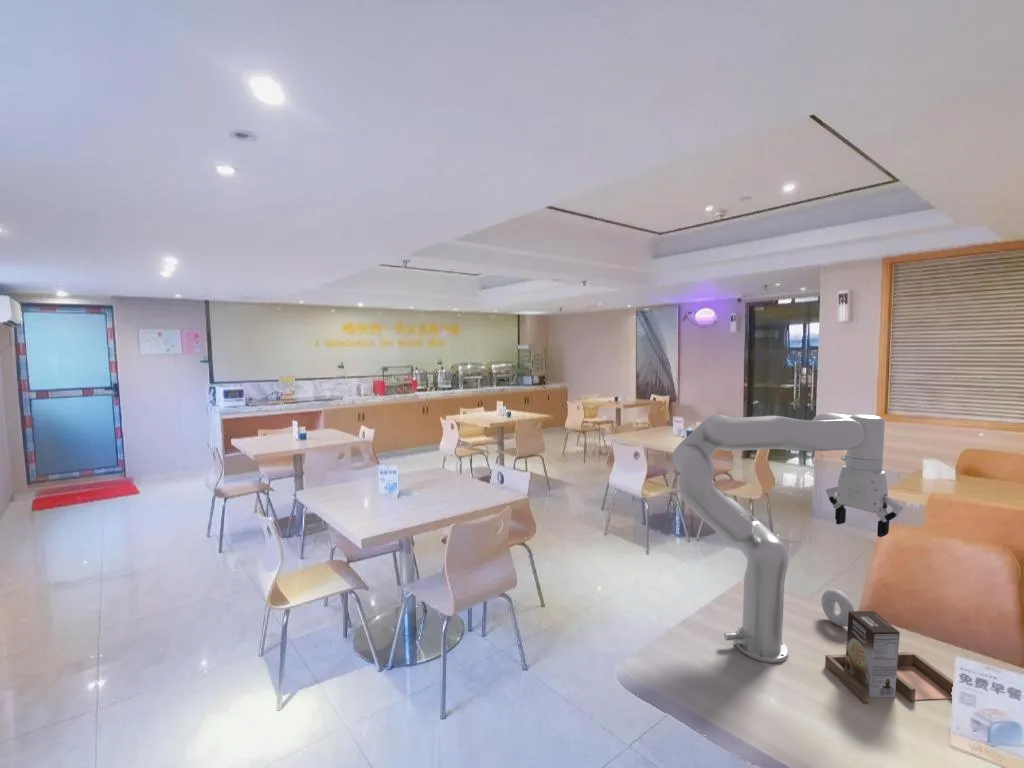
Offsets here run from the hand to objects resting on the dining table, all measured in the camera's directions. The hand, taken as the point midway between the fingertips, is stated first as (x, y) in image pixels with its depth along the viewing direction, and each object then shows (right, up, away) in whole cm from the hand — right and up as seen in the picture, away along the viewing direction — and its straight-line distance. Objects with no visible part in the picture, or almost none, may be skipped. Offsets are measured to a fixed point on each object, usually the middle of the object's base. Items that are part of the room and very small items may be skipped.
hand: (860, 529), depth 127 cm
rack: (+1, -34, -8) cm, 35 cm away
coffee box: (-4, -35, -9) cm, 36 cm away
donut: (+5, -33, +17) cm, 37 cm away
